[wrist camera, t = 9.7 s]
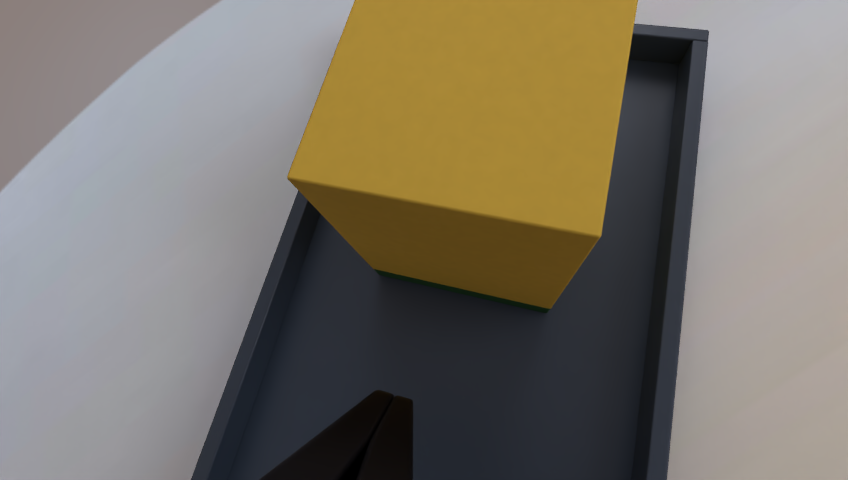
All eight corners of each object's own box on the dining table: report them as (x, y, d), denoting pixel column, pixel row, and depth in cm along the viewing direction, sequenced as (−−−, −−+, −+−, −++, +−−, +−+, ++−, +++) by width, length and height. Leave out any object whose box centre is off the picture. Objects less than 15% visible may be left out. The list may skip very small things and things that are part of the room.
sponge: (547, 314, 17) (601, 237, 9) (378, 275, 19) (285, 178, 10) (580, 135, 19) (647, -61, 11) (426, 113, 21) (382, -75, 13)
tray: (615, 747, 13) (636, 807, 12) (188, 568, 17) (148, 591, 15) (688, 64, 21) (709, 29, 19) (379, 31, 24) (368, -1, 22)
